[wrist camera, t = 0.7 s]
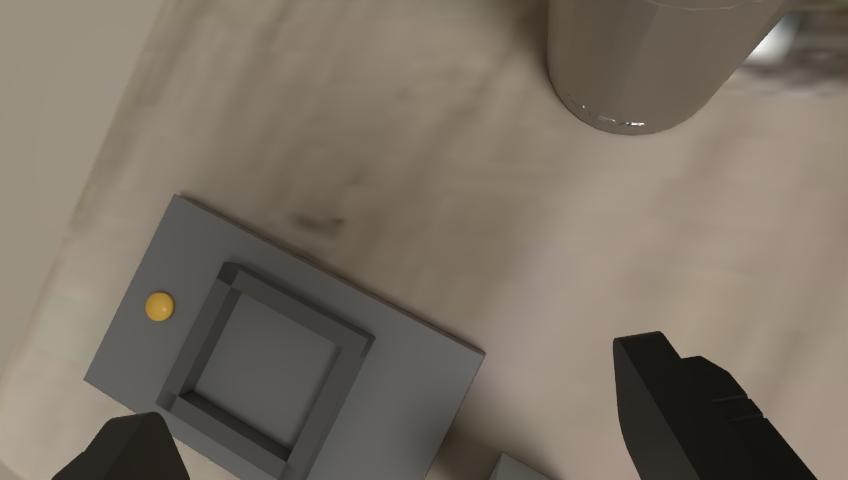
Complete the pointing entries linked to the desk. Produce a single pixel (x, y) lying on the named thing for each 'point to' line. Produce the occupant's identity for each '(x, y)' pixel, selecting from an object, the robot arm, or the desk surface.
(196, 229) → the power dock
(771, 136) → the desk surface
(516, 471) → the plug
